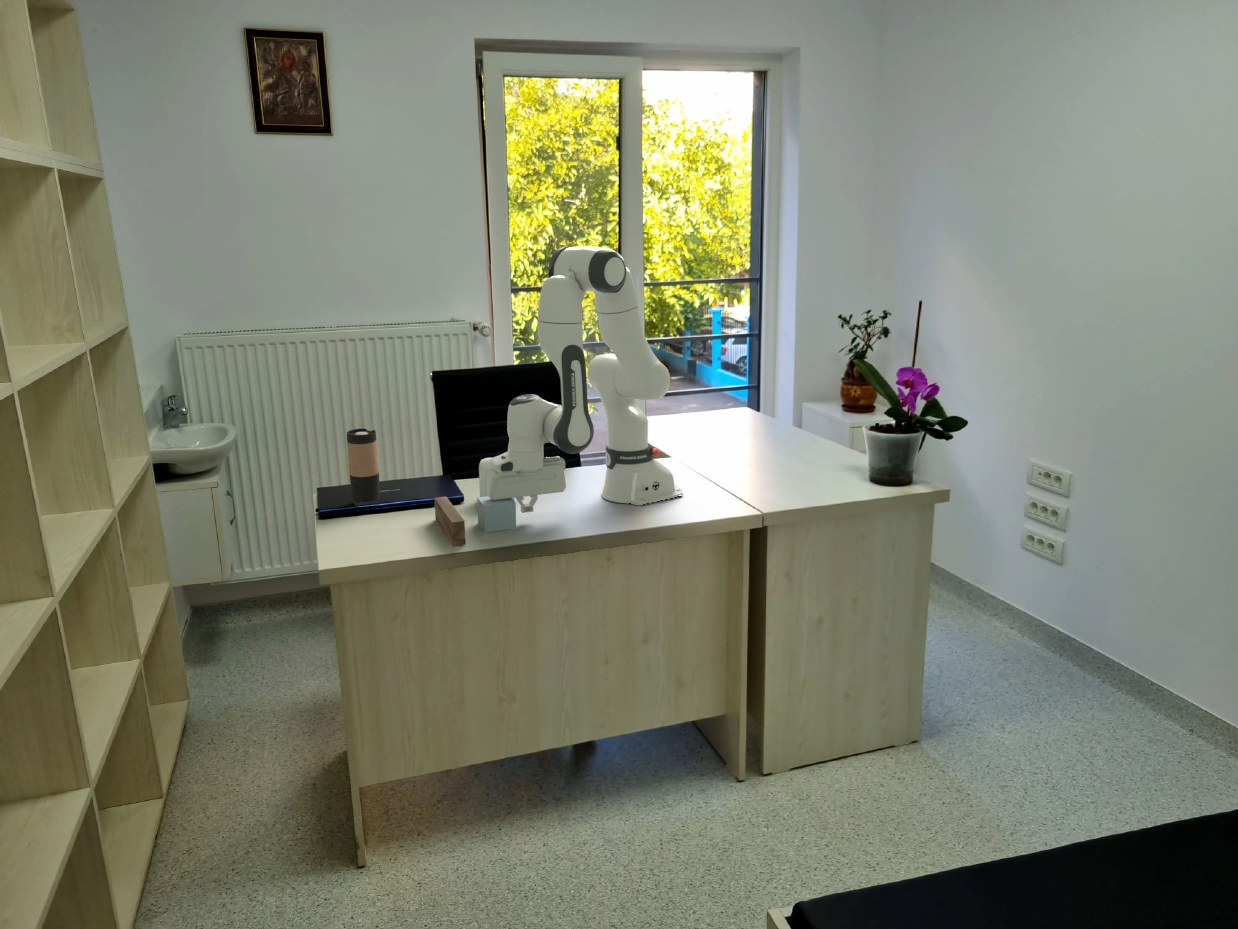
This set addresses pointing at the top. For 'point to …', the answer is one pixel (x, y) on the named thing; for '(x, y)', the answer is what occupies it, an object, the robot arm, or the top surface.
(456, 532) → the stop board
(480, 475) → the photo printer
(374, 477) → the travel mug
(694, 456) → the top surface
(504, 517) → the slate block
